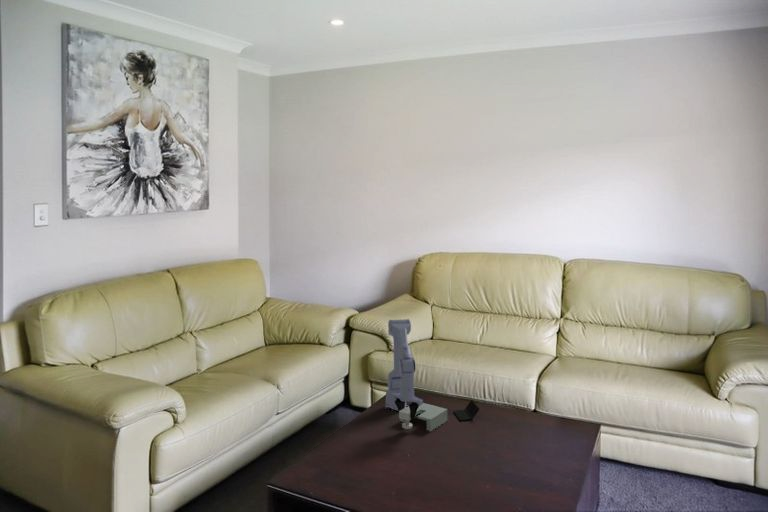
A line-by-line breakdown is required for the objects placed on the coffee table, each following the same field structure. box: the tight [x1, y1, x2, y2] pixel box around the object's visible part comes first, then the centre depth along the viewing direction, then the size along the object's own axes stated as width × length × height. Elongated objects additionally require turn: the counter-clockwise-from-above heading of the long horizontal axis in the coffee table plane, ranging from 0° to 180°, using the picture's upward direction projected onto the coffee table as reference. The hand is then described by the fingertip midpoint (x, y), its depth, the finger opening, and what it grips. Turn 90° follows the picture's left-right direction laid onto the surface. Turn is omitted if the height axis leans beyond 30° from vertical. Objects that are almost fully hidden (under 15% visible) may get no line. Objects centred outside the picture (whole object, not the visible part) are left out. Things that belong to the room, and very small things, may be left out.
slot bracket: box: [399, 402, 448, 432], centre depth 256 cm, size 16×14×6 cm
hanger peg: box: [398, 408, 413, 430], centre depth 246 cm, size 5×5×7 cm
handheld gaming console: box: [452, 400, 480, 422], centre depth 263 cm, size 12×7×10 cm
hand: (407, 417), depth 246 cm, fingers closed on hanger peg, 5 cm apart
